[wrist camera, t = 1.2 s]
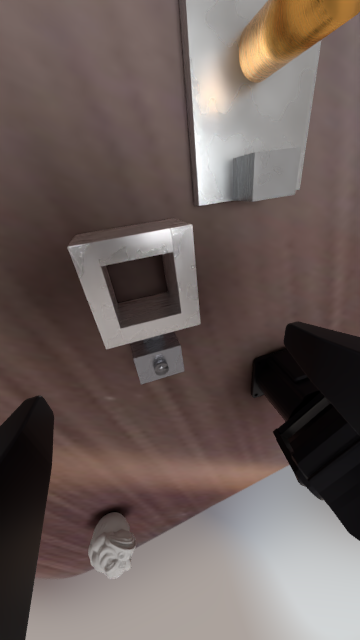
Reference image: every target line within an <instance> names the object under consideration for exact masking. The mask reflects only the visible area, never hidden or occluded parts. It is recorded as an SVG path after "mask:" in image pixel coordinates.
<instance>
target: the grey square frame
mask: <svg viewBox="0 0 360 640" xmlns="http://www.w3.org/2000/svg"><path fill="white" fill-rule="evenodd" d="M67 248H68V250H69V253H70V256H71V258H72V261H73V264H74V266H75V269H76V271H77V274H78V277H79V279H80V282H81V285H82V287H83V290H84V292H85V295H86V298H87V300H88V303H89V306H90V308H91V311H92V313H93V316H94V319H95V321H96V324H97V327H98V329H99V332H100V334H101V337H102V340H103V342H104V345H105V348H106V349H110V348H114V347H117V346H121V345H125V344H129V343H132V342H136V341H140V340H144V339H147V338H151V337H155V336H158V335H162V334H166V333H170V332H173V331H177V330H181V329H185V328H188V327H192V326H196V325H199V324H200V312H199V300H198V287H197V275H196V263H195V251H194V239H193V227H192V224H189V223H187V222H184V221H181V220H178V219H176V218H170V219H164V220H159V221H153V222H147V223H141V224H135V225H129V226H123V227H117V228H111V229H106V230H100V231H94V232H88V233H82V234H76V235H75V236H74V238H73V239H72V241H71V242H70V244H69V245H68V246H67ZM161 254H162V259H163V265H164V271H165V277H166V284H167V290H168V292H164V293H160V294H155V295H151V296H147V297H142V298H138V299H134V300H129V301H125V302H121V303H117V300H116V296H115V293H114V290H113V287H112V283H111V280H110V277H109V273H108V270H107V267H106V265H110V264H115V263H120V262H125V261H130V260H135V259H140V258H146V257H151V256H156V255H161Z"/></svg>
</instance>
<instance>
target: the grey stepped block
mask: <svg viewBox="0 0 360 640" xmlns="http://www.w3.org/2000/svg"><path fill="white" fill-rule="evenodd" d="M131 348H132V354H133V360H134V363H135V366H136V369H137V373H138V376H139V379H140V382H141V384H144V383H147V382H151V381H154V380H157V379H161V378H164V377H167V376H170V375H174V374H177V373H180V372H184V365H183V358H182V351H181V345H180V343H179V341H178V339H177V337H176V335H175V333H174V331H173V332H170V333H166V334H162V335H158V336H155V337H151V338H147V339H144V340H140V341H136V342H132V343H131Z"/></svg>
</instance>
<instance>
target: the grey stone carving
mask: <svg viewBox="0 0 360 640" xmlns="http://www.w3.org/2000/svg"><path fill="white" fill-rule="evenodd" d="M129 529H130V527H129V524H128V523H127V521H126V519H125V517H124V516H123V515H121V514H120V513H117V512H112V513H109V514H107V515H105V516H104V517H103V518H102V519H101V520H100V521H99V522H98V524H97V526H96V528H95V530H94V533H93V538H92V539H91V543H90V546H89V551H88V554H89V557H90V562H91V565H92V566H93V567H94V568H95V569H96V570H97V571H98V572H101V573H103V574H106V577H108V578H109V579H113V578H115V579H116V578H118V577H119V576H121V574H122V573H123V571H127V570H129V569H130V568H131V558H132V555H133V551H134V550H135V548H136V538H135V537H134V535H133V533H131V532H129Z"/></svg>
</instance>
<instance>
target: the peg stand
mask: <svg viewBox="0 0 360 640" xmlns="http://www.w3.org/2000/svg"><path fill="white" fill-rule="evenodd" d="M179 9H180V22H181V36H182V49H183V62H184V76H185V89H186V102H187V116H188V129H189V142H190V156H191V169H192V182H193V196H194V205H196V206H201V205H208V204H214V203H220V202H226V201H232V200H234V201H250V202H253V201H259V200H265V199H271V198H277V197H283V196H289V195H295V190H300V183H301V176H302V170H303V163H304V156H305V149H306V142H307V135H308V128H309V121H310V115H311V108H312V101H313V94H314V87H315V80H316V73H317V66H318V60H319V53H320V46H321V40H322V39H323V38H324V37H326V36H327V35H329V34H330V33H332V32H333V31H334V30H336V29H337V28H339V27H340V26H341V25H343V24H344V23H346V22H347V21H348V20H350V19H351V18H353V17H354V16H355V15H357V14H358V13H359V12H360V0H179Z"/></svg>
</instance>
